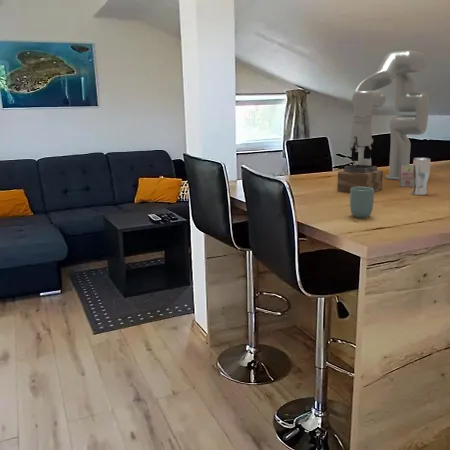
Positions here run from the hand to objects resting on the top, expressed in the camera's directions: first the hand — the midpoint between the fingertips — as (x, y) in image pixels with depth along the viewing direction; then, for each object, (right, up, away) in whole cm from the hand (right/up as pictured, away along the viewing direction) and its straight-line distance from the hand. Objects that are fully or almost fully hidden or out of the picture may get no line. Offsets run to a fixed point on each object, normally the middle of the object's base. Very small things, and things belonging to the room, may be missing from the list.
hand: (360, 159), depth 213 cm
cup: (-13, -26, -45) cm, 53 cm away
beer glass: (+23, -16, -8) cm, 29 cm away
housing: (0, -13, +3) cm, 14 cm away
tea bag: (+24, -11, +10) cm, 28 cm away
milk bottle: (+5, -10, +17) cm, 20 cm away
